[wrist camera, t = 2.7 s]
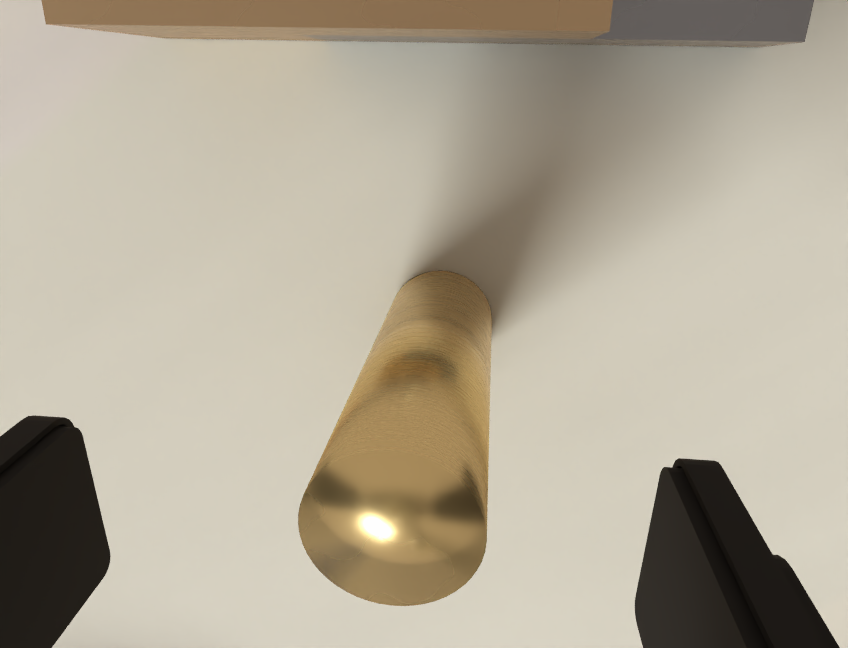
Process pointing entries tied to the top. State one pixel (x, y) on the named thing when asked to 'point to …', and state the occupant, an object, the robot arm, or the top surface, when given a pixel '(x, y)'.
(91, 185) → the top surface
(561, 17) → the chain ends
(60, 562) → the robot arm
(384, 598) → the pin
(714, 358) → the top surface
